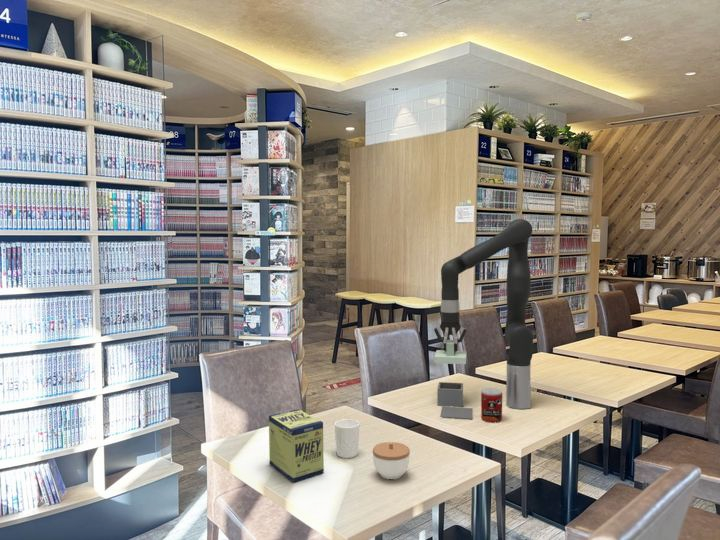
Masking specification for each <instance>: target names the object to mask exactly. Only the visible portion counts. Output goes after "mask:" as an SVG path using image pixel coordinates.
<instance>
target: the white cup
mask: <svg viewBox="0 0 720 540" xmlns="http://www.w3.org/2000/svg"><path fill="white" fill-rule="evenodd" d="M334 437H335V439H334V440H335V447H336V449H335V450H336V455H337V456H338V457H339V458H343V459H352V458H354V457H357V456H358V455H359V454H358V453H359V443H360V442H359V441H360V439H359V438H360V421H358V420H357V419H351V418H345V419H339V420H337V421H335V422H334Z"/></svg>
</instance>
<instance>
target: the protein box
mask: <svg viewBox="0 0 720 540" xmlns="http://www.w3.org/2000/svg"><path fill="white" fill-rule="evenodd" d="M268 438H269V439H268V446H269V447H268V448H269V449H268V450H269V453H268V454H269V465H270V466H271V467H272V468H273V469H275V470H276V471H278V473H279V474H281V475H282V476H283V477H285V478H287V479H288V480H289V481H290V482H291V483H292V484H294V483H297V482H301V481H303V480H306V478H307V479H310V478H312V477H316V475H317V476H320V475H323V474H324V469H325V466H324V461H325V459H324V422H323V421H322V420H319V418H316V417H314V416H312V415H310V414H308V413H307V412H304V411H303V410H301V409H299V408H297V409H293V410H287V411H285V412H283V411H282V412H279V413H275V414H274V413H273V414H270V415H268ZM322 473H323V474H322ZM319 474H320V475H319Z"/></svg>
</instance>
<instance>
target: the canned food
mask: <svg viewBox="0 0 720 540" xmlns="http://www.w3.org/2000/svg"><path fill="white" fill-rule="evenodd" d="M480 393H481V394H480V397H481V398H480V401H481V402H480V408H481V409H480V410H481V411H480V417H481V420H482V421H484V422H486V423H490V422H491V423H495V422H496V423H499V422H501V421H502V419H503V391H502V390H501V389H500V388H497V387H486V388H485V387H484V388H482V389H481V392H480Z"/></svg>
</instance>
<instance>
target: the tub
mask: <svg viewBox="0 0 720 540" xmlns="http://www.w3.org/2000/svg"><path fill="white" fill-rule="evenodd" d="M436 393H437V395H436V396H437V398H436V399H437V402H436V403H437V404H436V405H437V407H442V406H444V407H450V406H453V407H460V408H463V403H464V383H463V382H444V381H443V382H442V381H440V382H438V384H437V392H436Z"/></svg>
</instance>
